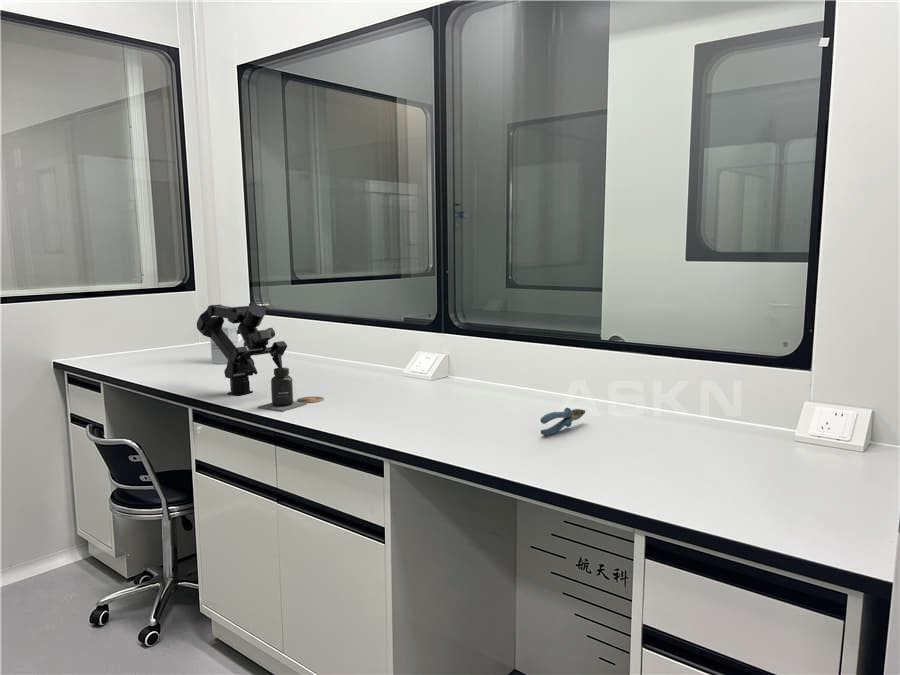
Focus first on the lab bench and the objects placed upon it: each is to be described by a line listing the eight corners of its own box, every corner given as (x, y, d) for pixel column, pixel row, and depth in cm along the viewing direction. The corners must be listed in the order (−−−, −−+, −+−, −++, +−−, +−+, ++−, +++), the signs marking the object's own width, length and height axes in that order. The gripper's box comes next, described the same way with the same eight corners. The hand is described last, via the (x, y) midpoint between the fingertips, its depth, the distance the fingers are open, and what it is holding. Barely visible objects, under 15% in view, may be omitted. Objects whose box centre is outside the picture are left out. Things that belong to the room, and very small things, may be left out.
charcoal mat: (258, 407, 218) (257, 406, 218) (282, 400, 227) (282, 399, 227) (282, 411, 212) (282, 410, 212) (306, 404, 222) (306, 403, 222)
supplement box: (221, 360, 312) (219, 324, 310) (240, 360, 311) (238, 324, 308) (211, 364, 302) (209, 327, 300) (230, 364, 301) (228, 327, 299)
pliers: (580, 421, 195) (580, 402, 194) (587, 423, 193) (587, 403, 193) (538, 436, 181) (538, 415, 180) (544, 437, 179) (544, 416, 179)
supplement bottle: (282, 407, 215) (280, 371, 214) (267, 405, 219) (265, 369, 217) (297, 403, 221) (296, 367, 219) (283, 401, 225) (281, 366, 223)
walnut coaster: (291, 401, 227) (291, 400, 227) (309, 395, 234) (309, 395, 234) (311, 404, 222) (311, 403, 222) (329, 398, 230) (329, 398, 230)
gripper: (232, 323, 219) (250, 360, 212) (282, 317, 231) (301, 352, 225) (222, 344, 225) (240, 381, 219) (272, 338, 238) (290, 372, 232)
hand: (269, 371), depth 224 cm, fingers open, 9 cm apart
